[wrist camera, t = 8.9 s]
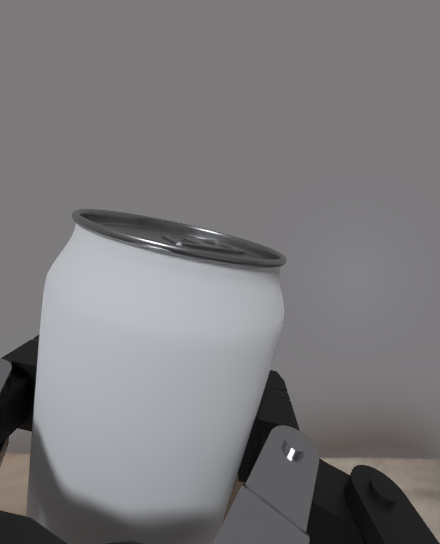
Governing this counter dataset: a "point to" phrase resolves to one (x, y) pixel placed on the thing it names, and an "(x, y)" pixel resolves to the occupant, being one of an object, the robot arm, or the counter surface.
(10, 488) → the counter surface
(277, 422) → the robot arm
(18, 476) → the counter surface
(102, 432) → the can
